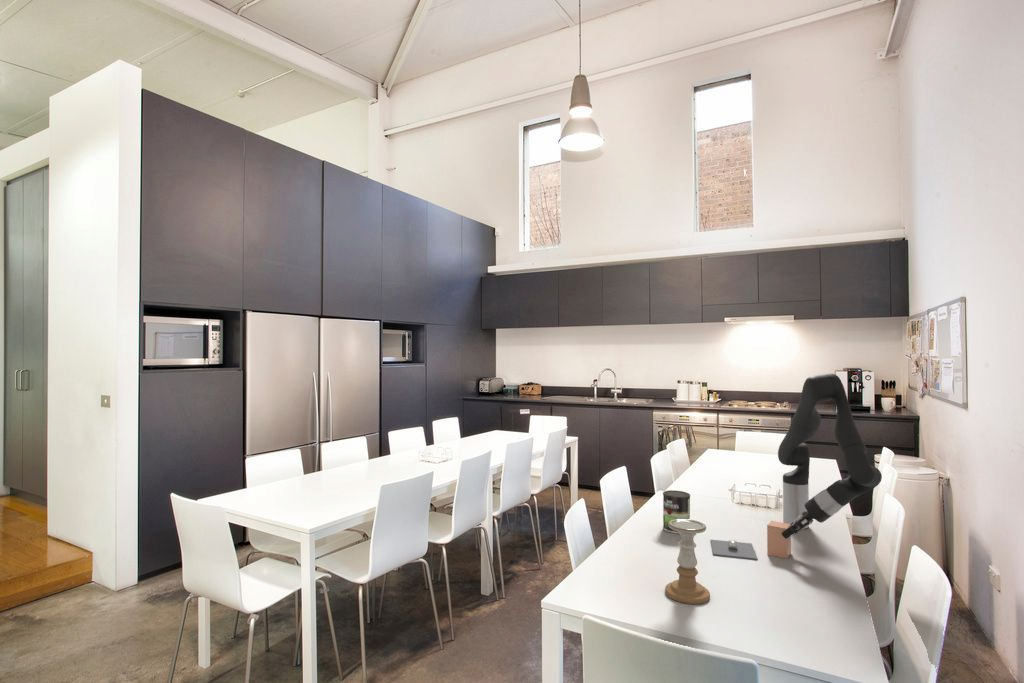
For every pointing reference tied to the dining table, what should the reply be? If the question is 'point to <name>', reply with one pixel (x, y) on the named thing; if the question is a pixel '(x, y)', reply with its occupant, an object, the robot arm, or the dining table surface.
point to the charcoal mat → (742, 550)
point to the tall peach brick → (778, 540)
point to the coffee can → (675, 507)
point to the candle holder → (687, 565)
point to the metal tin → (732, 545)
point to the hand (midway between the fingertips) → (786, 532)
